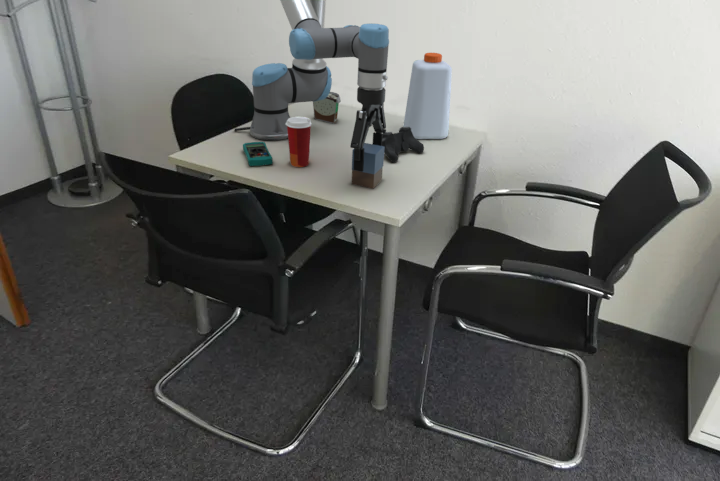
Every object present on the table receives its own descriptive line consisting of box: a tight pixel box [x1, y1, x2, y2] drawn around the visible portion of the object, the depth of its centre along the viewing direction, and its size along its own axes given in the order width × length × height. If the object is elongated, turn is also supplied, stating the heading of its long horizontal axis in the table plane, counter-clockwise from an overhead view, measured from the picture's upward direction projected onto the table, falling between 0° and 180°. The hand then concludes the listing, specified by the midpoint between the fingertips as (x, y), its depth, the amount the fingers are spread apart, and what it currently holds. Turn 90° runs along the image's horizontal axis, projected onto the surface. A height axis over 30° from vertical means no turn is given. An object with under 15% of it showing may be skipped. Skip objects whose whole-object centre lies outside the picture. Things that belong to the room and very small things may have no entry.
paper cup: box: [285, 116, 313, 168], centre depth 160 cm, size 8×8×14 cm
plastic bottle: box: [402, 52, 453, 140], centre depth 186 cm, size 15×15×28 cm
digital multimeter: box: [242, 141, 274, 167], centre depth 166 cm, size 7×15×3 cm, turn 18°
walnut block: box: [351, 166, 384, 190], centre depth 152 cm, size 7×7×4 cm
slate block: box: [351, 142, 385, 174], centre depth 149 cm, size 7×7×6 cm
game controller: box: [382, 126, 425, 163], centre depth 172 cm, size 16×7×10 cm, turn 134°
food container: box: [312, 91, 342, 125], centre depth 201 cm, size 12×6×10 cm, turn 58°
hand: (367, 162), depth 150 cm, fingers open, 13 cm apart
